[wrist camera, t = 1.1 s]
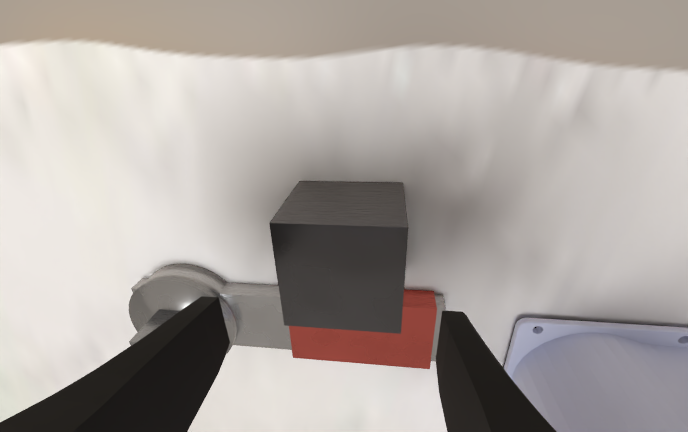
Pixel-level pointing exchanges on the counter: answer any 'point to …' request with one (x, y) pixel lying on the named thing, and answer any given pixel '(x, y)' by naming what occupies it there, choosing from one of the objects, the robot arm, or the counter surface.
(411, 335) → the ratchet
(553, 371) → the robot arm
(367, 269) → the charcoal grey cube
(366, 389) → the counter surface
